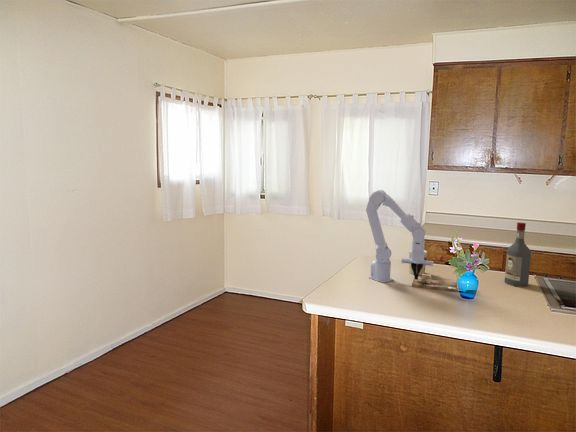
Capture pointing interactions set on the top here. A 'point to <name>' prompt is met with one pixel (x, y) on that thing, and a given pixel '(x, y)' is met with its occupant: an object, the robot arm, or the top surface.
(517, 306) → the top surface
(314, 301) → the top surface
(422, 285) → the gauge base
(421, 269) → the coffee cup
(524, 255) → the liquor
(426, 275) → the gauge slider
